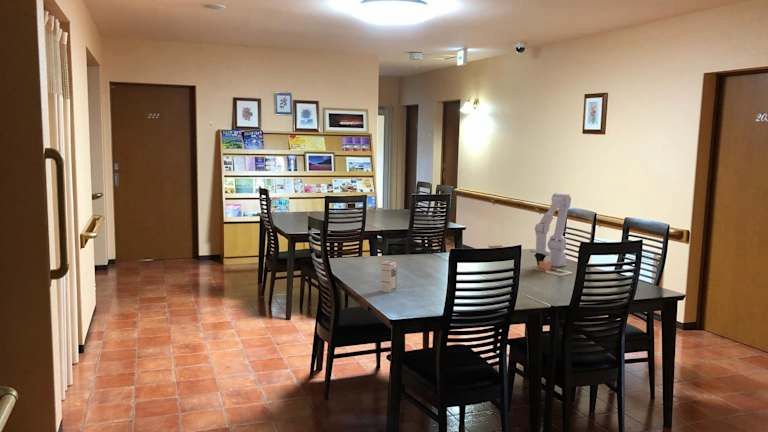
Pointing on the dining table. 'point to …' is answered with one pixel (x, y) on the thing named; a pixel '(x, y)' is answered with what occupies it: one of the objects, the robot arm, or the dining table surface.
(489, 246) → the supplement box
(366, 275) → the dining table surface
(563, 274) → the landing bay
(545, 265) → the terracotta block
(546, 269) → the parallel wooden rails
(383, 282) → the syrup box
